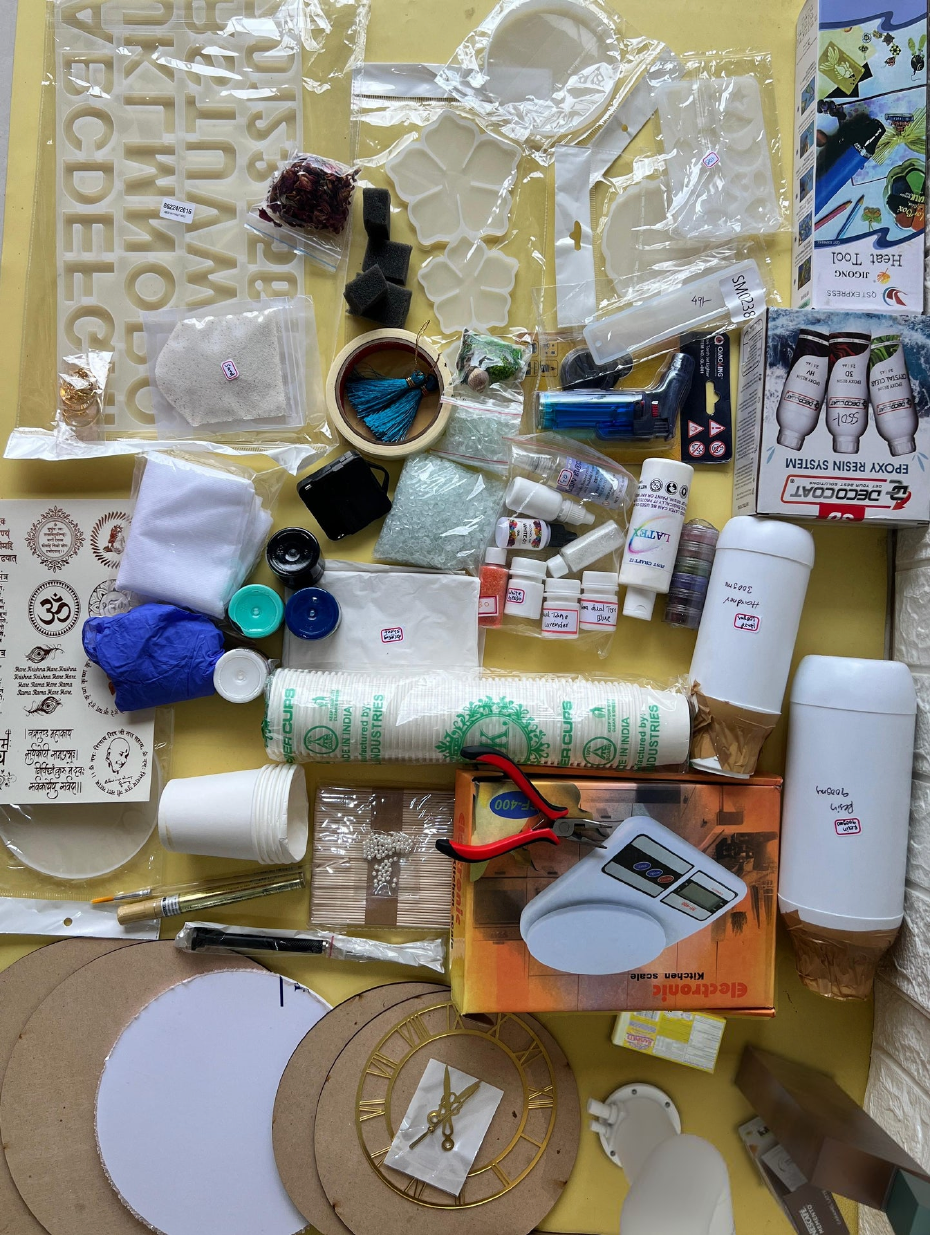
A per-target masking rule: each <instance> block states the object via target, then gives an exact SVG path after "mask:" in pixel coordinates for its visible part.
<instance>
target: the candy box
mask: <svg viewBox="0 0 930 1235" xmlns="http://www.w3.org/2000/svg"><path fill="white" fill-rule="evenodd" d="M706 1012H707V1011H705V1012H683V1011H672V1012H670V1011H669V1012H668V1011H654V1012H653V1011H641V1012H619V1011H618V1012H617V1014H616V1015H617V1016H616V1019H615V1023H614V1027H613V1030H612V1032H611V1037H610V1039H611V1042H612V1044H613V1045H616V1046H620V1047H624V1048H627V1049H631V1050H634V1051H636V1052H640V1053H643V1054H646V1055H650V1056H653V1057H657V1058H659V1059H663V1060H666V1061H669V1062H673V1063H676V1064H679V1065H683V1066H685V1067H690V1068H692V1069H696V1070H699V1071H703V1072H705V1073H709V1074H712V1075H713V1074H714V1072H715V1068H716V1064H717V1059H718V1055H719V1050H720V1046H721V1044H722V1043H721V1042H722V1038H723V1034H724V1031H725V1027H726V1023H727V1019H725V1017H724V1016H721V1015H718V1014H715V1013H711V1012H709V1013H706Z"/></svg>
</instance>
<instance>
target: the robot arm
mask: <svg viewBox="0 0 930 1235" xmlns="http://www.w3.org/2000/svg"><path fill="white" fill-rule="evenodd" d="M586 1112H587V1113H588V1114H590V1115H593V1116H596V1117H598V1120H595V1119H593V1118H591V1119H590V1121H589V1124H588V1128H589V1130H590V1131H593V1132H595V1133H598V1135H599V1139H600V1142H601V1145H602V1148H603V1149H604V1151H605V1153H606V1155H607V1157H609V1159H610V1160H611V1161H612V1162H613V1163H615V1164H616V1165H617V1166H618V1167H619V1168H621V1169H622V1171H623V1173H624V1177H625V1179H626V1182H627V1184H628V1186H629V1189H628V1191H627V1193H626V1195H625V1198H624V1200H623V1201H622V1206H621V1209H620V1215H619V1216H620V1217H619V1235H737V1232H736V1224H735V1218H734V1207H733V1198H732V1189H731V1180H730V1174H729V1170H728V1166H727V1163H726V1161H725V1158H724V1157H723V1155H722V1154H721V1152H720V1150H718V1149H717V1148H716V1146H715V1145H713V1143H711V1142H710V1141H708V1140H707V1139H705V1138H704V1137H701V1136H698V1135H695V1134H691V1133H682V1132H681V1131H682V1128H681V1119H680V1115H679V1112H678V1110H677V1108H676V1105H675V1104H674V1102H673V1101H672V1099H671V1098H670V1097H669V1096H668V1095H667V1093H665V1092H664V1091H663V1090H662V1089H660V1088H658V1087H656V1086H654V1085H652V1084H649V1083H643V1082H636V1083H629V1084H626V1085H623V1086H621V1087H619V1088H618V1089H616V1090H615V1091H614V1092H612V1093H611V1094H610V1095H609V1097H608V1098H607V1099H606V1100H605V1102H604V1103H603V1102H602V1101H599V1100H597V1099H595V1098H592V1097H590V1098H589V1099H588V1100H587V1104H586Z"/></svg>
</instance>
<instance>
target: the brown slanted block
mask: <svg viewBox="0 0 930 1235" xmlns="http://www.w3.org/2000/svg"><path fill="white" fill-rule="evenodd" d="M733 1084H734V1085H735V1086H736V1088H737V1089H738V1090H739V1091H740V1093H741V1094H742V1095H743V1097H744V1098H745V1099H746V1101H747V1102H748V1104H750V1106H751V1107H752V1109H753V1110H754V1112H755V1113H756V1114H757V1116H759V1117H760V1118H761V1119H762V1121H763V1122H764V1123H765V1125H766V1126H767V1127H768V1128H769V1130H770V1131H771V1132H772V1134H773V1135H774V1136H775V1138H776V1139H777V1140H778V1142H779V1143H780V1144H781V1146H782V1147H783V1148H784V1150H785V1151H786V1152H787V1154H788V1155H789V1156H790V1158H791V1159H792V1160H793V1162H794V1163H795V1164H796V1166H797V1167H798V1168H799V1170H800V1171H801V1172H802V1174H803V1175H804V1176H805V1178H806V1179H807V1180H808V1182H809V1183H810V1184H811V1185H814V1186H817V1187H819V1188H822V1189H824V1190H827V1191H829V1192H831V1193H832V1194H835V1195H838V1196H840V1197H843V1198H845V1199H847V1200H851V1201H853V1202H856V1203H857V1204H861V1205H863V1206H866V1207H869V1208H870V1209H874V1210H876V1211H878V1212H881V1213H884V1214H886V1213H885V1212H886V1208H887V1205H888V1202H889V1199H890V1196H891V1192H892V1189H893V1186H894V1183H895V1180H896V1176H897V1173H898V1170H899V1169H901V1170H903V1171H905V1172H907V1173H909V1174H911V1175H913V1176H915V1177H917V1178H919V1179H921V1180H923V1181H925V1182H927V1183H929V1184H930V1173H928V1171H926V1170H925V1169H924V1168H923V1167H922V1166H921V1165H920V1164H919V1163H918V1162H917V1161H916V1160H915V1159H914V1158H913V1156H911V1155H910V1154H909V1153H908V1152H907V1151H906V1150H905V1149H904V1148H903V1146H901V1145H900V1144H899V1143H898V1142H897V1141H896V1140H895V1139H894V1138H893V1137H892V1136H891V1135H890V1134H889V1133H888V1132H887V1131H886V1130H885V1129H884V1128H883V1127H882V1125H880V1124H879V1123H877V1121H876V1120H875V1119H874V1118H873V1117H872V1116H871V1115H869V1114H868V1112H867V1111H865V1110H864V1108H862V1107H861V1105H860V1104H858V1103H857V1101H856V1100H854V1098H853V1097H852V1096H851V1095H850V1094H848V1092H846V1091H845V1090H844V1089H843V1088H842V1087H841V1086H840V1085H839V1084H838V1083H837V1082H836V1081H835V1080H834V1079H833V1078H832V1077H829V1076H826V1075H824V1074H822V1073H819V1072H816V1071H813V1070H811V1069H809V1068H806V1067H803V1066H801V1065H798V1064H796V1063H794V1062H790V1061H788V1060H785V1059H783V1058H780V1057H779V1056H775V1055H773V1054H770V1053H767V1052H765V1051H762V1050H759V1049H758V1048H754V1047H752V1046H750V1045H746V1046H745V1049H744V1052H743V1055H742V1058H741V1061H740V1064H739V1067H738V1070H737V1072H736V1076H735V1078H734V1082H733Z"/></svg>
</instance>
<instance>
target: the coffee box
mask: <svg viewBox="0 0 930 1235" xmlns="http://www.w3.org/2000/svg"><path fill="white" fill-rule="evenodd" d="M737 1131H738V1133H739V1136H740V1137H741V1139H742V1141H743V1143H744V1146H745V1148H746V1150H747V1152H748V1155H749V1156H750V1158H751V1161H752V1162H753V1164H754V1167H755V1169H756V1171H757V1173H758V1175H759V1177H760V1179H761V1181H762V1183H763V1185H764V1186H765V1188H766V1189H767V1191H768V1192H769V1194H770V1195H771V1197H772V1198H773V1200H774V1201H775V1202H776V1204H777V1206H778V1208H779V1209H780V1211H781V1212H782V1214H783V1215H784V1216H785V1218H786V1219H787V1221H788V1222H789V1225H791V1227H792V1229H793V1230H794V1232H795V1234H796V1235H851V1231H850V1229H849V1227H848V1225H847V1222H846V1221H845V1218H844V1216H843V1214H842V1213H841V1209H840V1208H839V1206H838V1204H837V1202H836V1200H835V1197H834V1195H833V1193H832V1192H829V1191H827V1190H824V1189H822V1188H819V1187H817V1186H814V1185H811V1184H810V1183H809V1182H808V1180H807V1179H806V1178H805V1176H804V1175H803V1174H802V1172H801V1171H800V1170H799V1168H798V1167H797V1166H796V1164H795V1163H794V1162H793V1160H792V1159H791V1158H790V1156H789V1155H788V1154H787V1152H786V1151H785V1150H784V1148H783V1147H782V1146H781V1144H780V1143H779V1142H778V1140H777V1139H776V1138H775V1136H774V1135H773V1134H772V1132H771V1131H770V1130H769V1128H768V1127H767V1126H766V1125H765V1123H764V1122H763V1121H762V1119H761V1118H760V1117H759V1115H757V1117H755V1118H753V1119H751V1120H749V1121H748V1122H745V1123H744V1124H743V1125H741V1126H739V1127H738V1129H737Z"/></svg>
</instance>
